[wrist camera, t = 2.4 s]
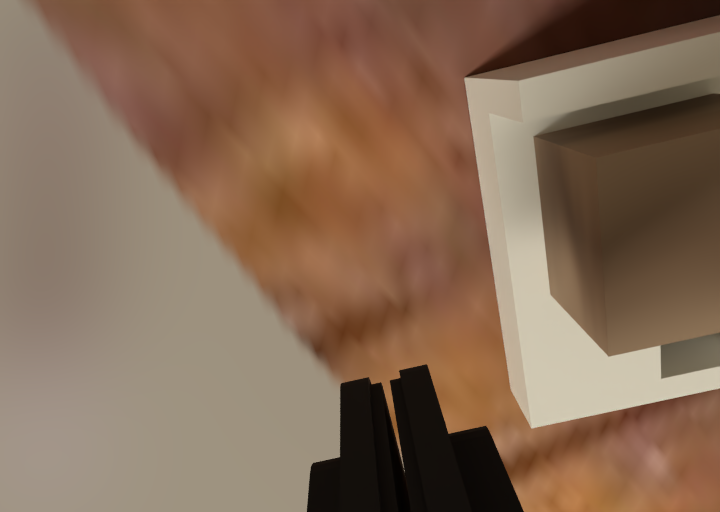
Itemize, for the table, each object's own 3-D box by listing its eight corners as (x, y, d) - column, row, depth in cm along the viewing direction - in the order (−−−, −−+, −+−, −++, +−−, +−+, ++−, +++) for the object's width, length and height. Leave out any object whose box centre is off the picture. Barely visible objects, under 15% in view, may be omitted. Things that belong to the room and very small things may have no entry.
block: (533, 136, 15) (595, 157, 12) (713, 93, 15) (836, 101, 11) (550, 294, 17) (608, 356, 14) (710, 258, 17) (814, 312, 13)
